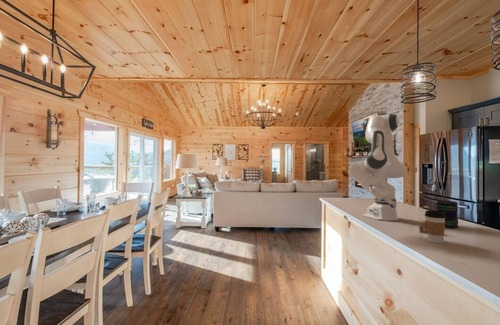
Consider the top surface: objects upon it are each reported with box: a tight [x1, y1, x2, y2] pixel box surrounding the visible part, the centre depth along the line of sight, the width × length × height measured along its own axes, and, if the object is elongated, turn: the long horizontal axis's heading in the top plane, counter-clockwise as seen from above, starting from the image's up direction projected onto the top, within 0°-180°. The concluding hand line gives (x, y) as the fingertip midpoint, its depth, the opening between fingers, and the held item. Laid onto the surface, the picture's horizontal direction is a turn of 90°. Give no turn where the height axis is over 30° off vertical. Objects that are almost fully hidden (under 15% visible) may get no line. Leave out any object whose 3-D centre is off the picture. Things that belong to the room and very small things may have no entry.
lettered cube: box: [418, 219, 428, 235], centre depth 133 cm, size 6×6×6 cm
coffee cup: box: [424, 209, 446, 244], centre depth 118 cm, size 8×8×15 cm
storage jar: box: [436, 200, 459, 230], centre depth 143 cm, size 10×10×15 cm
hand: (392, 203), depth 129 cm, fingers closed
